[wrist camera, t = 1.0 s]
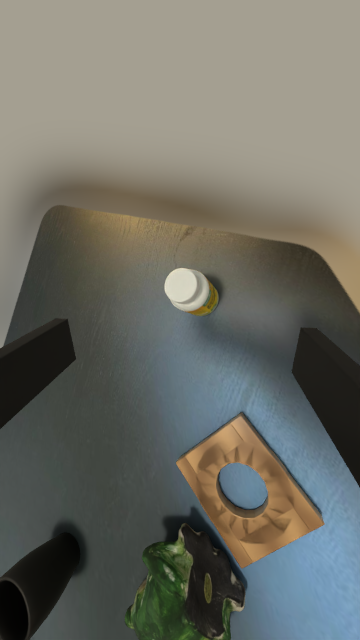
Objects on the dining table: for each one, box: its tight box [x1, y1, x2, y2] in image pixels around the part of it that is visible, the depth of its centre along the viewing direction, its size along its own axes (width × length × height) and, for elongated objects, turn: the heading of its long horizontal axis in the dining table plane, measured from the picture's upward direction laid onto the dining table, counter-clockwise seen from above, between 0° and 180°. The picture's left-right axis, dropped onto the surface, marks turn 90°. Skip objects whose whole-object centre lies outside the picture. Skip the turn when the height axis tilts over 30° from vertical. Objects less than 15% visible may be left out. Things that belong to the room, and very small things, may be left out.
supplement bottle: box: [165, 268, 218, 316], centre depth 29 cm, size 5×5×10 cm
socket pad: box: [176, 412, 324, 568], centre depth 29 cm, size 12×14×2 cm
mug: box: [0, 533, 80, 640], centre depth 34 cm, size 8×12×10 cm
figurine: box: [125, 523, 245, 640], centre depth 27 cm, size 14×9×15 cm
